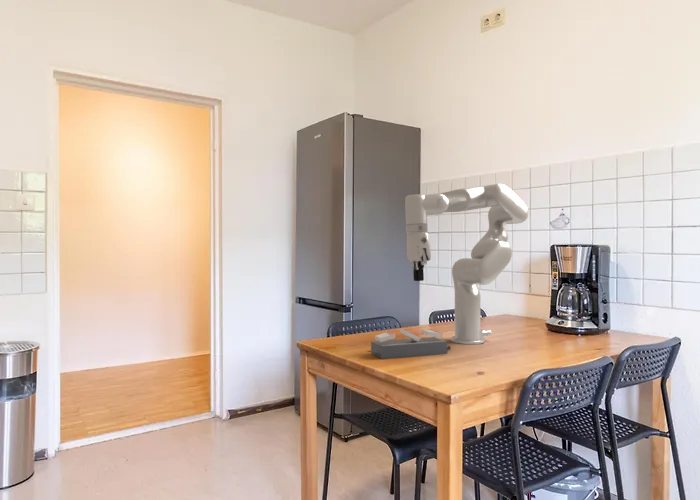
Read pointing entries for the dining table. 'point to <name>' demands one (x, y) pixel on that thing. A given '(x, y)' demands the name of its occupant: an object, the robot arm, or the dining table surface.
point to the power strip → (409, 347)
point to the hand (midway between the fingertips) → (418, 280)
